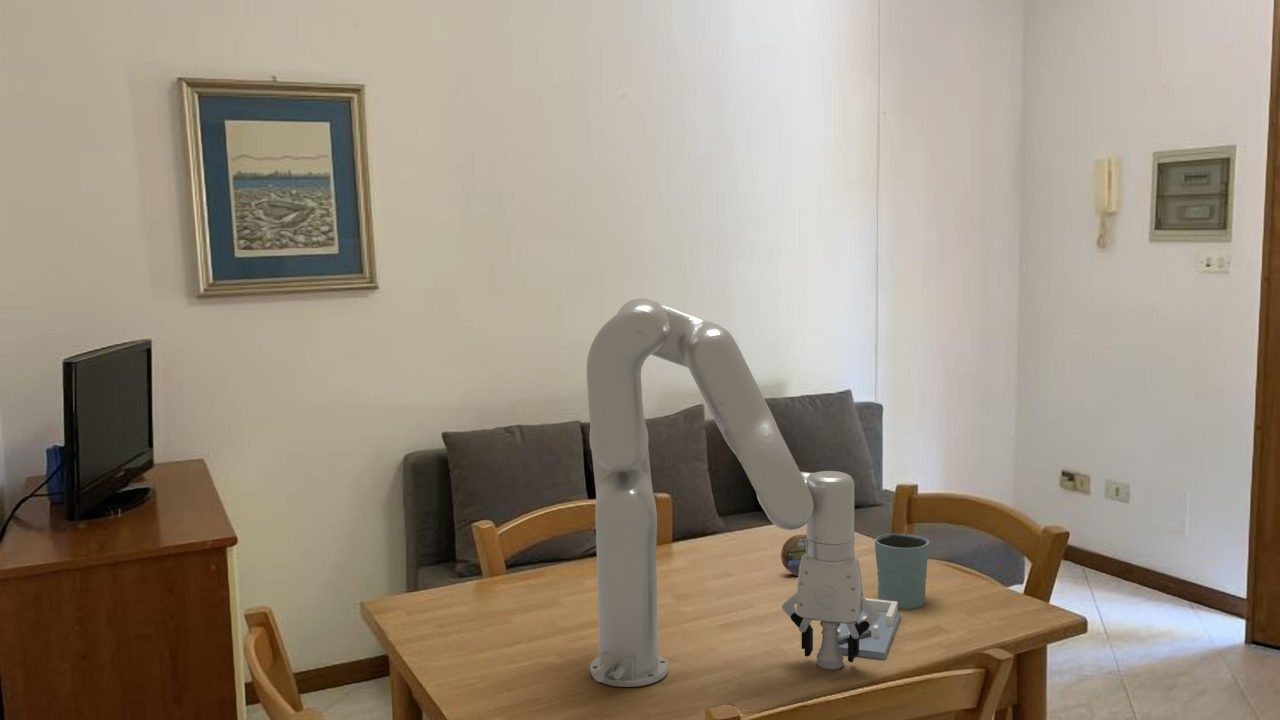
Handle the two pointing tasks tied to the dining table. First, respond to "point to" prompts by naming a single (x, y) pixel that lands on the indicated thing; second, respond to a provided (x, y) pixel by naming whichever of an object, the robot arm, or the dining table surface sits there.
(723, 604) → the dining table surface
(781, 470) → the robot arm
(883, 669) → the dining table surface
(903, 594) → the teal cup
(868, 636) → the board
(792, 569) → the tin
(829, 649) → the rook chess piece
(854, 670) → the dining table surface
